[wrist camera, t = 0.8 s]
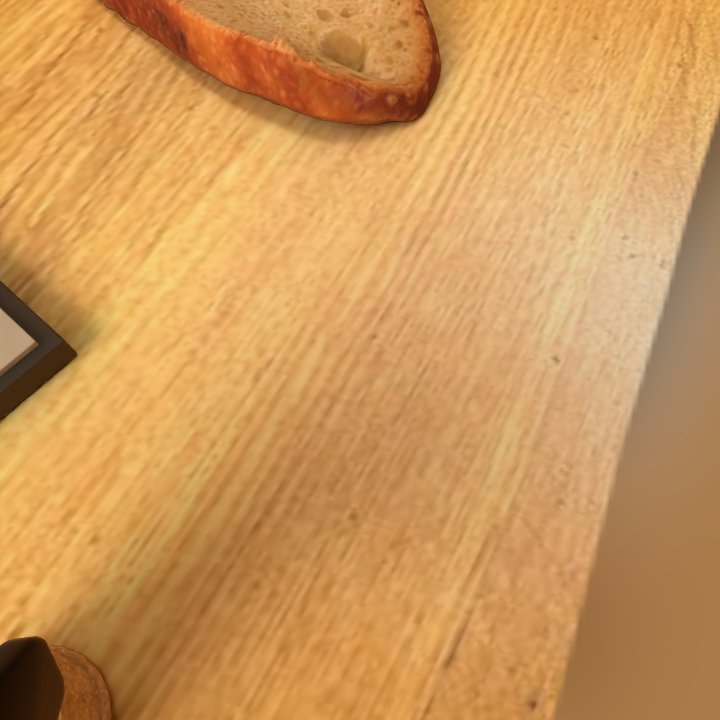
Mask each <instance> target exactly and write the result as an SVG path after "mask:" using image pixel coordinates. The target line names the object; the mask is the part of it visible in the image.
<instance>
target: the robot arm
mask: <svg viewBox="0 0 720 720" xmlns="http://www.w3.org/2000/svg"><path fill="white" fill-rule="evenodd" d="M64 694H65V683H64V678H63V675H62V673H61V671H60V669H59V667H58V665H57V663H56V661H55V659H54V657H53V655H52V653H51V651H50V648H49V646H48V644H47V643H46V641H45V640H44V639H42V638H41V637H37V636H34V637H25V638H17V639H11V640H8V641H6V642H5V643H3V644H2V645H1V646H0V720H58V718H59V714H60V711H61V707H62V704H63V700H64Z"/></svg>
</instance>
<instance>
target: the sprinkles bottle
mask: <svg viewBox="0 0 720 720" xmlns="http://www.w3.org/2000/svg"><path fill="white" fill-rule="evenodd" d="M48 646H49V648H50V651H51V653H52V655H53V657H54V659H55V661H56V663H57V665H58V667H59V669H60V671H61V673H62V675H63V678H64V683H65V694H64V700H63V704H62V707H61V711H60V714H59V718H58V720H112V714H111V709H110V697H109V693H108V690H107V688H106V686H105V683H104V680H103V678H102V676H101V675H100V673H99V671H98V669H96V668H95V667H94V666H93V665H92V664H91V663H90V662H89V661H88V660H87V659H85V658H84V657H83V656H82V655H81V654H80V653H77V652H74V651H71V650H69V649H67V648H64V647H61V646H54V645H48Z"/></svg>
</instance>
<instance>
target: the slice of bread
mask: <svg viewBox="0 0 720 720" xmlns="http://www.w3.org/2000/svg"><path fill="white" fill-rule="evenodd" d="M102 1H103V2H104V4H105V5H106V6H107V7H108V8H109V9H112V10H115V11H117V12H118V13H119V14H120V15H121V16H122V17H123V18H124V19H125V20H126V21H127V22H128V23H130V24H133V25H136V26H138V27H139V28H141V29H142V30H143V31H144V32H145V33H146V34H148V35H149V36H150V37H152V38H154V39H156V40H158V41H159V42H160V43H162V44H163V45H164V46H165V47H167V48H168V49H169V50H171V51H172V52H174V53H175V54H177V55H178V56H180V57H182V58H183V59H185V60H186V61H188V62H189V63H191V64H192V65H193V66H195V67H196V68H198V69H200V70H201V71H204V72H206V73H208V74H210V75H211V76H213V77H215V78H216V79H218V80H219V81H221V82H222V83H224V84H225V85H227V86H229V87H232V88H235V89H237V90H240V91H242V92H246V93H250V94H254V95H257V96H260V97H262V98H264V99H266V100H268V101H270V102H272V103H274V104H278V105H283V106H285V107H287V108H290V109H292V110H294V111H297V112H300V113H302V114H305V115H308V116H311V117H314V118H318V119H322V120H327V121H333V122H340V123H348V124H363V125H374V124H380V123H383V122H387V121H403V122H407V121H411V120H413V119H415V118H417V117H418V116H420V115H421V114H422V113H423V112H424V110H425V108H426V105H427V103H428V101H429V99H430V97H431V95H432V94H433V92H434V90H435V88H436V86H437V83H438V80H439V77H440V71H441V61H440V54H439V49H438V43H437V38H436V35H435V31H434V28H433V25H432V22H431V20H430V17H429V14H428V12H427V9H426V7H425V4H424V1H423V0H102Z"/></svg>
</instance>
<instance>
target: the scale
mask: <svg viewBox="0 0 720 720" xmlns="http://www.w3.org/2000/svg"><path fill="white" fill-rule="evenodd" d="M76 355H77V353H76V352H75V351H74V350H73V349H72V348H71V346H70V345H69V344H68V343H67V342H66V341H65V340H64V339H63V338H62V337H61V336H59V335H58V334H57V333H56V332H55V331H54V330H53V329H52V328H51V327H50V326H49V325H48V324H46V323H45V322H44V321H43V320H42V319H41V318H40V317H39V316H38V315H37V314H36V313H35V312H33V311H32V310H31V309H30V308H29V307H28V306H27V305H26V304H25V303H24V302H23V301H21V300H20V299H19V298H18V297H17V296H16V295H15V294H14V293H13V292H12V291H11V290H10V289H8V288H7V287H6V286H5V285H4V284H3V283H2V282H1V281H0V419H2V418H3V417H4V416H5V415H6V414H7V413H9V412H10V411H11V410H12V409H13V408H15V407H16V406H17V405H18V404H19V403H21V402H22V401H23V400H24V399H25V398H26V397H28V396H29V395H30V394H31V393H32V392H34V391H35V390H36V389H37V388H38V387H40V386H41V385H42V384H43V383H44V382H45V381H47V380H48V379H49V378H50V377H51V376H53V375H54V374H55V373H56V372H57V371H58V370H60V369H61V368H62V367H63V366H64V365H66V364H67V363H68V362H69V361H70V360H72V359H73V358H74V357H75V356H76Z"/></svg>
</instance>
